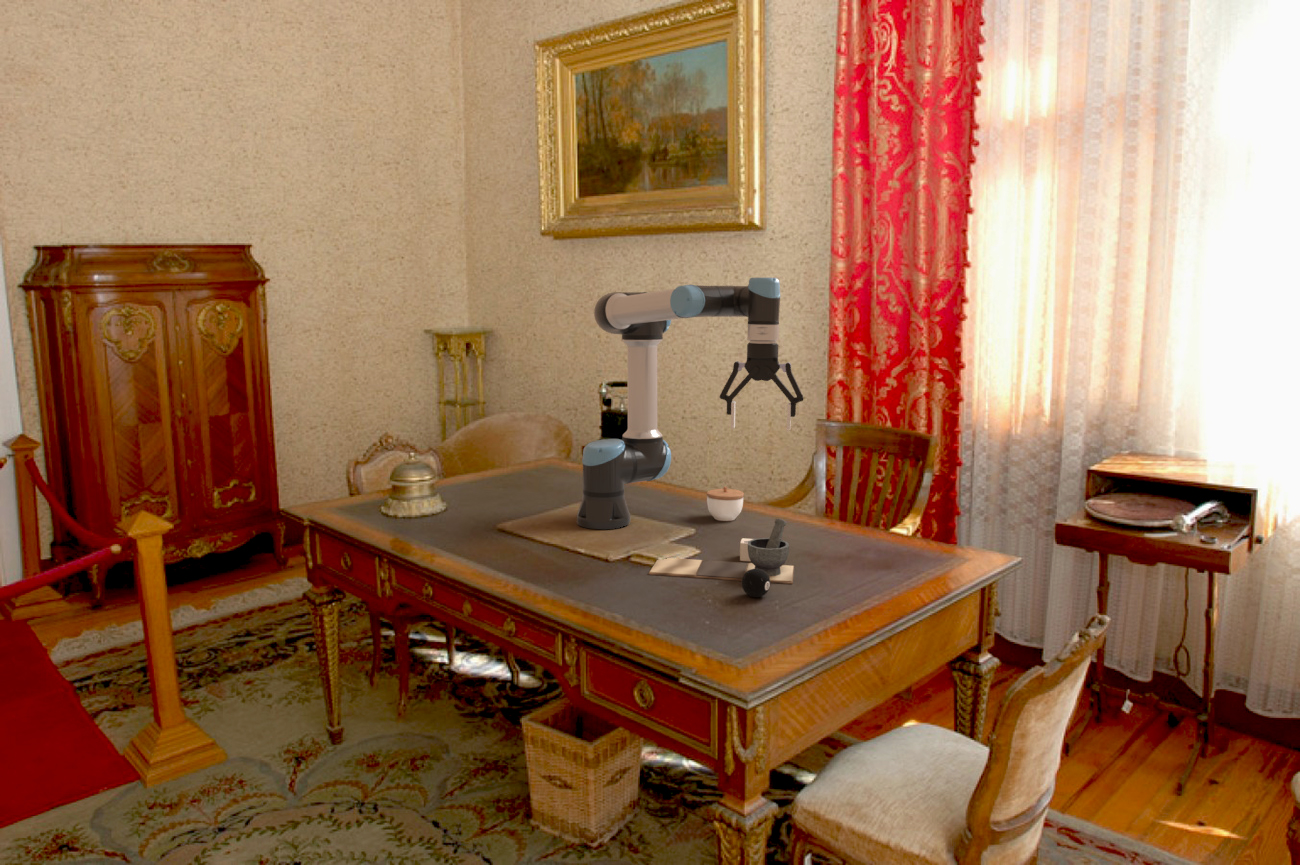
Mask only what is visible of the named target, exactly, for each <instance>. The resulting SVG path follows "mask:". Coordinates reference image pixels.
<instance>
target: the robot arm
mask: <svg viewBox="0 0 1300 865" xmlns="http://www.w3.org/2000/svg"><path fill="white" fill-rule="evenodd" d="M780 285H781V284H780V280H779V279H778V278H777V277H751V278H749V280H748V285H731V284H730V285H696V284H685V285H677V287H675V288H669V289H664V290H663V289H662V290H657V291H651V292H650V291H649V292H647V291H642V292H641V291H640V292H638V291H635V292H634V291H630V292H628V291H627V292H621V291H616V292H614V291H613V292H610V293H606V294H604V295H602V296H601V297H600V298H599V299H598V300H597V301H596V303H595V306H594V309H593V310H594V312H593V315H594V317H593V318H594V319H595V322H596V324H597V326H599V328H600V329H601V330H603V332H604V331H605V332H606V333H608V334H613V335H621V341H622V342H623V343H624V344H625V346H626V347H627V348H626V349H627V352H626V354H627V356H626V357H627V362H626V363H627V365H626V367H627V373H626V374H627V376H626V377H627V378H626V379H627V429H626V431H625V432H624V433H623V434H622V439H619V438H607V439H605V438H604V439H603V438H602V439H597V440H593V441H591V442H589V443H587V444H585V446H584V448H583V449H582V450H583V451H582V459H581V463H582V499H581V502H580V505H579V508H578V510H577V513H576V514H577V515H576V524H577V525H578V526H580V527H582V528H585V529H591V530H593V529H594V530H614V529H615V528H616V529H621V528H624V527H623V526H625V527H627V526H629V525H630V524H631V513H630V511H629V507H628V503H627V501H626V498H625V485H626V484H627V485H628V484H634V483H640V482H642V483H643V482H650V481H654V480H658V479H661V478H663V476H665V474H667V472H668V470H669V469H670V468H671V463H672V451H671V448H669V444H668V443H667V441H666V440H664V438H663V437H664V436H663V434H662V433H661V431H660V430H659V429H658V347H659V345H660V344H661V343H662V342H663V340H664V339H663V338H664V337H663V334H664V333H666V332H667V331H668V330H669V327H670V326H671V324H672V320H678V319H692V318H701V317H702V318H703V317H705V318H706V317H707V318H709V317H710V318H712V317H716V318H718V317H721V318H722V317H725V318H726V317H727V318H728V317H730V318H733V317H741V318H742V317H746V318H747V335H746V336H747V338H746V339H747V341H749V342H748V343H747V345H746V362H741V361H737V360H736V361H734V362H733V367H732V372H731V373H730V375H729V377H728V379H727V382H726V383H725V385H724V387H723V389H722V391H721V393H720V395H719V399H720V400H723V401H725V402H726V415H729V416H730V429H731V430H735V429H736V428H735V427H736V401H735V400H734V398H735V397H737V395H739V393H740V392H741V391H742V390H743V389H744V388H745V386H746V385H747V384H748V383H750V382H749V381H751V380H753V381H755V382H756V381H764V382H769V381H772V382H773V383H774V384H775V385H776V387H778V388H779V390H780V391H781V392H782V394H784V396H785V397H786V399H787V400H788V401H789V402H788V403H787V409H786V410H787V413H786V414H787V415H786V417H787V419H786V431H788V432H789V431H791V423H792V421H791V420H792V418H795V417H796V414H797V412H796V410H797V409H796V407H797V403H800V402H803V401H804V399H805V398H804V395H803V393H802V391H801V389H800V387H799V384H798V382H797V381H796V378H795V376H794V373H793V372H792V364H791V362H786V363H780V362H779V344H778V341H779V339H780V335H779V334H780V307H781V305H780V303H781V286H780ZM743 368H744V369H745V370H746V372H747V373H748V374H747V375H746V377H744V379H743V380H742V381H741V382H740V383H739V384H738V385H737V387H736V388H734V390H733V391H732V392H731V393H730V395H729V394H728V392H729V390H730V389H731V387H732V384H733V383H734V381H735V380H736V378H737V375H738V373H739V372H741V371H742V370H743ZM780 369H781V370H782V371H783V373H786V376H787V378H788V380H789V382H790V385H791V387H792V389H793V391H794V393H795V395H796V396H794V395H793V394H792V392H791V391H790V390H789V389H788V388H787V386H786V385H785V384H784V383H783V381H782V380H781V379H780V377H779V376H778V375H777V373H778V371H779V370H780ZM629 523H630V524H629ZM628 524H629V525H628ZM626 525H627V526H626ZM620 527H621V528H620Z"/></svg>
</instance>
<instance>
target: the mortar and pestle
mask: <svg viewBox="0 0 1300 865" xmlns="http://www.w3.org/2000/svg"><path fill="white" fill-rule="evenodd" d="M786 526H787V521H786V520H784V519H783V518H775V519H774V526H773V528H772V531H771V533H770V536H769V537H762V538H759V537H758V538H752V539H753V540H750V541H748V555H749V558H750V560H751V561H750V563H753V564H754V565H755V569H761V570H763V571H765V572H766V573H767V574H768V576H777V575H780V574H781V571H780V567H781V566H782V565H785V563H786V562H787V561H788V558H789V554H790V553H789V552H790V545H789V542H788V541H785V540H782V537H783V532H784V529H785V527H786Z"/></svg>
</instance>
